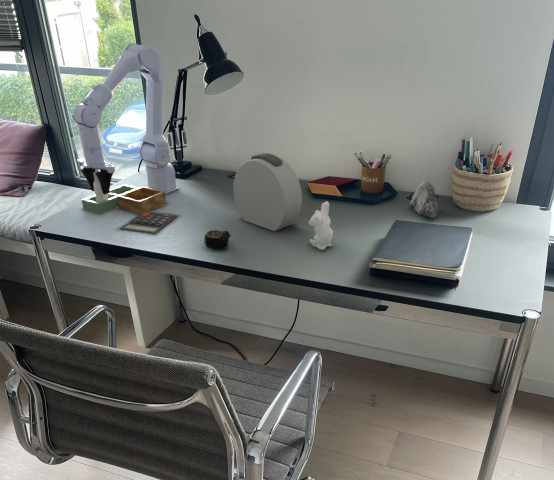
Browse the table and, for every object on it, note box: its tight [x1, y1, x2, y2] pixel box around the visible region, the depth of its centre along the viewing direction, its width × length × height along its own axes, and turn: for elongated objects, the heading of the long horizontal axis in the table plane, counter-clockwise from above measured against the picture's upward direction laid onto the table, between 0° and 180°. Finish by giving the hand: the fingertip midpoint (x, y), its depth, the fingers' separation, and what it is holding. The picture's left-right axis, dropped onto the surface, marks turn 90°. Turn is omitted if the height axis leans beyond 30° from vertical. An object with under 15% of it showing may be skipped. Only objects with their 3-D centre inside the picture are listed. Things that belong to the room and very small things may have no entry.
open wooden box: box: [117, 185, 167, 215], centre depth 181 cm, size 11×10×4 cm
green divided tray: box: [81, 183, 139, 215], centre depth 183 cm, size 18×8×3 cm, turn 147°
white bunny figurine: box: [308, 200, 334, 251], centre depth 152 cm, size 8×7×12 cm
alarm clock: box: [232, 152, 303, 232], centre depth 165 cm, size 21×8×20 cm, turn 47°
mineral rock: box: [409, 179, 439, 219], centre depth 173 cm, size 13×11×10 cm
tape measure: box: [203, 229, 231, 250], centre depth 155 cm, size 7×7×4 cm
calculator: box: [119, 211, 178, 235], centre depth 171 cm, size 12×1×15 cm
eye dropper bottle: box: [93, 169, 108, 202], centre depth 178 cm, size 4×6×12 cm
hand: (100, 192), depth 178 cm, fingers closed on eye dropper bottle, 4 cm apart
